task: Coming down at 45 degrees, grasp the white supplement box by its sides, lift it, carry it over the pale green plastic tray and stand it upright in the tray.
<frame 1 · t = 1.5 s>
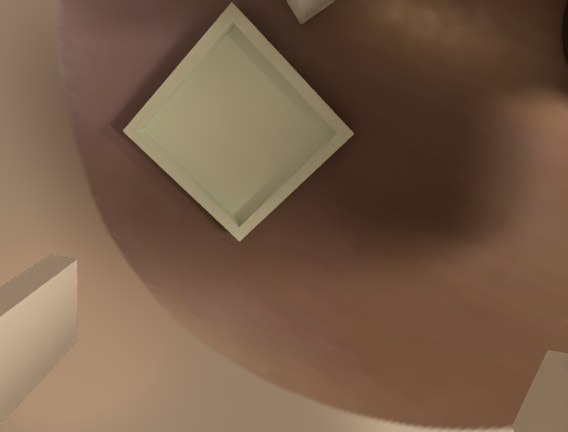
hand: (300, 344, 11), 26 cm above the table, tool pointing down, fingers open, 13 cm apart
tray: (240, 130, 36), on the table
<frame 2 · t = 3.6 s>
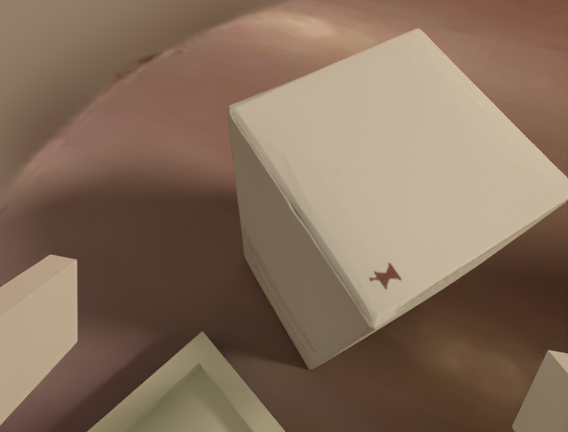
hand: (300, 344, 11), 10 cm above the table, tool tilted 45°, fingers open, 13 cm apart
supplement box: (328, 277, 23), on the table
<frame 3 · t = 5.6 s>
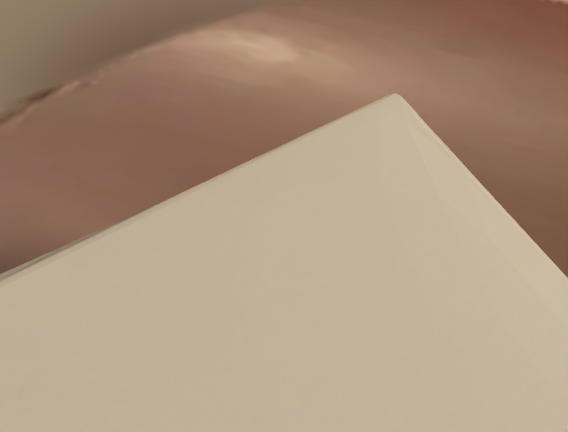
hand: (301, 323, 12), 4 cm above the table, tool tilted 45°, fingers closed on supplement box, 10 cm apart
supplement box: (277, 427, 15), on the table, touching gripper
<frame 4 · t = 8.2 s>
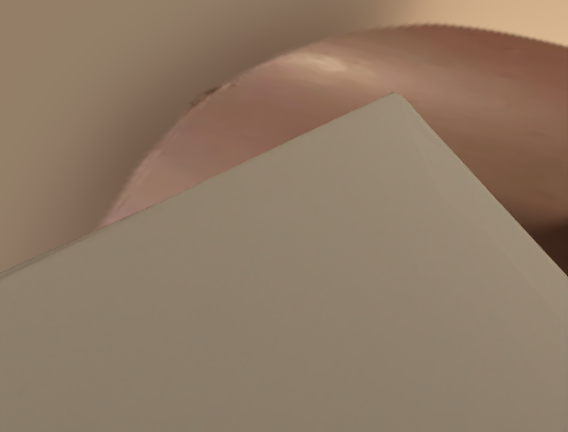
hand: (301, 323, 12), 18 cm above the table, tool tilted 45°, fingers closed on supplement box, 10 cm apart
supplement box: (277, 427, 15), point 13 cm above the table, touching gripper
when the fingers open (6 cm above the table, at t = 10.9 s): supplement box drops 1 cm, resting on tray.
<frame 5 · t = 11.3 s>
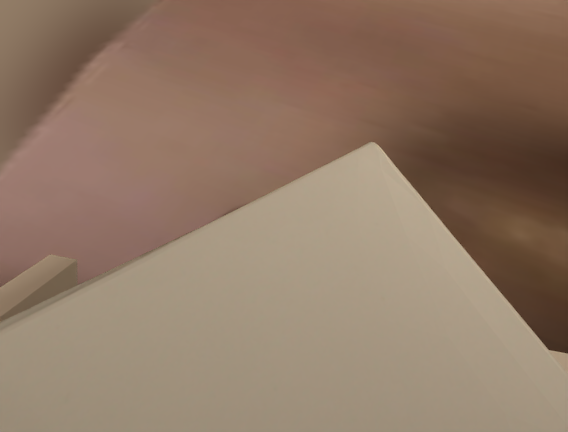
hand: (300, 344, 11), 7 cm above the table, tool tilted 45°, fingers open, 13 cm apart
supplement box: (275, 427, 16), point 1 cm above the table, touching tray
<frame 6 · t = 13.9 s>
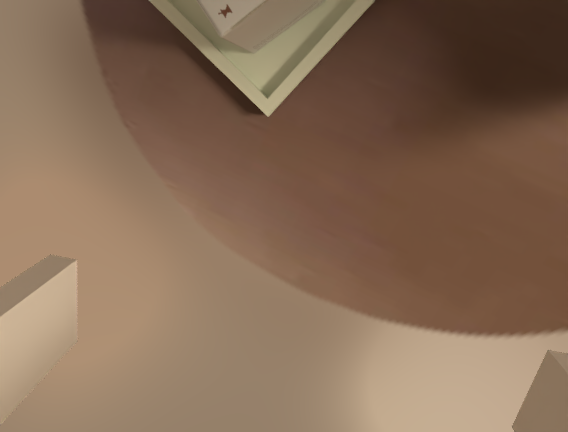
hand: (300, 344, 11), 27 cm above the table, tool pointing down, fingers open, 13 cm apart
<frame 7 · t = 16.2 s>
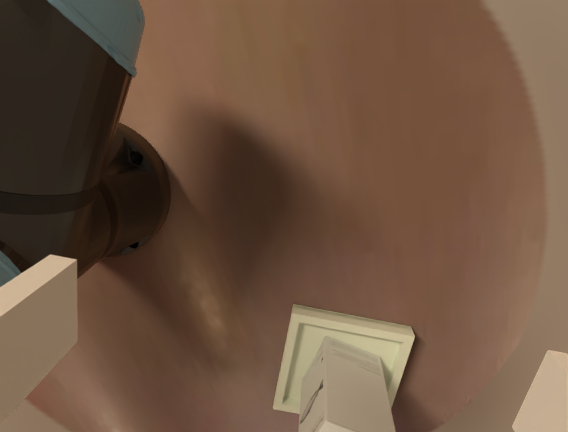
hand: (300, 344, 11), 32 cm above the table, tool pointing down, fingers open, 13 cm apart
tray: (339, 363, 49), on the table
supplement box: (339, 366, 49), point 1 cm above the table, touching tray
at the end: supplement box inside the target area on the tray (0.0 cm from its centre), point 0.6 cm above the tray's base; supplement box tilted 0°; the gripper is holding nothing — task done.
